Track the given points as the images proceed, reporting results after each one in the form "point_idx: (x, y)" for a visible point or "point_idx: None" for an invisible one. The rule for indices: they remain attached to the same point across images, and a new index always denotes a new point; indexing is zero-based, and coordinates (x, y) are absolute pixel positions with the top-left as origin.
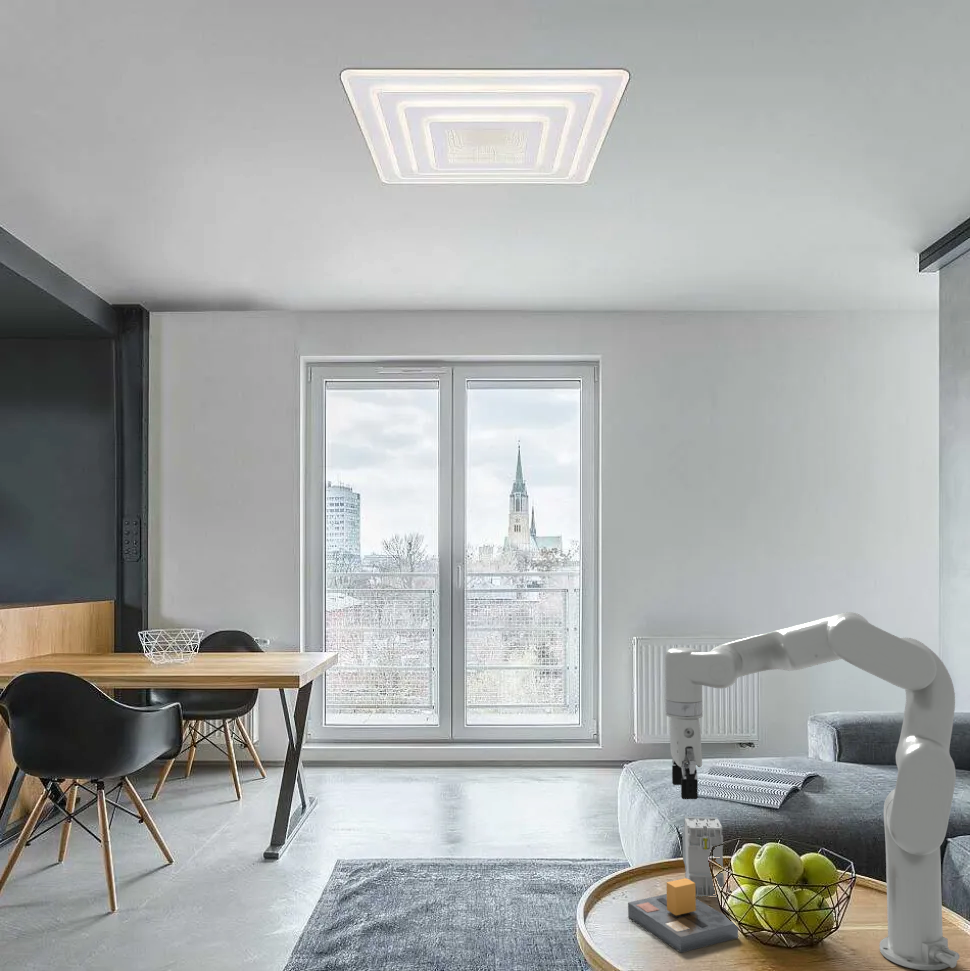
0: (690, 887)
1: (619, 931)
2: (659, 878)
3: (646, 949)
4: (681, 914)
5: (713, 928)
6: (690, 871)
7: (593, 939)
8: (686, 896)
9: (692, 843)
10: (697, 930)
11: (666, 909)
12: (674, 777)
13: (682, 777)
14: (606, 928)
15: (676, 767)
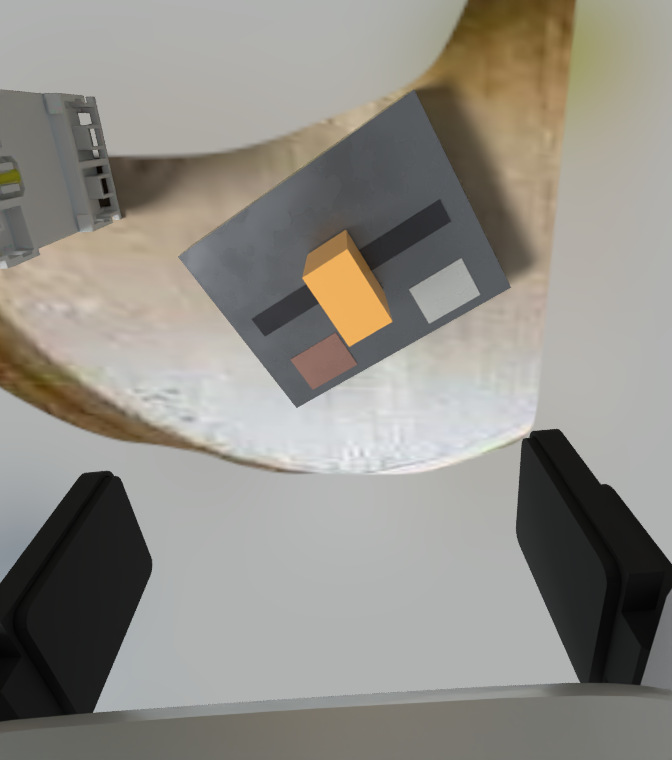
0: (358, 264)
1: (381, 409)
2: (11, 300)
3: (475, 355)
4: None
5: (458, 183)
6: (72, 226)
7: (424, 458)
8: (366, 272)
9: (9, 238)
10: (471, 235)
11: None
12: (130, 612)
13: (104, 557)
14: (367, 434)
15: (76, 698)
